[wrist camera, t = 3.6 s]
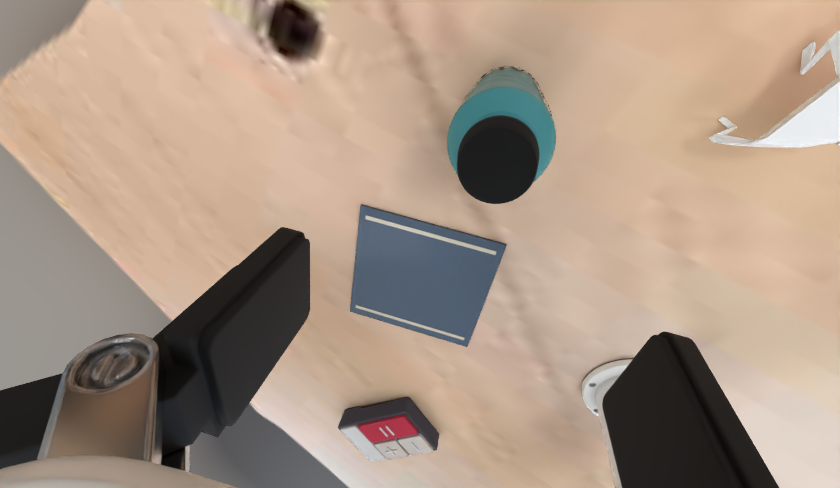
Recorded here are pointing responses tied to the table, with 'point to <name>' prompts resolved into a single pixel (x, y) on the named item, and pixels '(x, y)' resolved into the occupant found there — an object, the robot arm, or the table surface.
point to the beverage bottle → (501, 136)
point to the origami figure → (802, 111)
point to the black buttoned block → (389, 430)
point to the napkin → (421, 275)
